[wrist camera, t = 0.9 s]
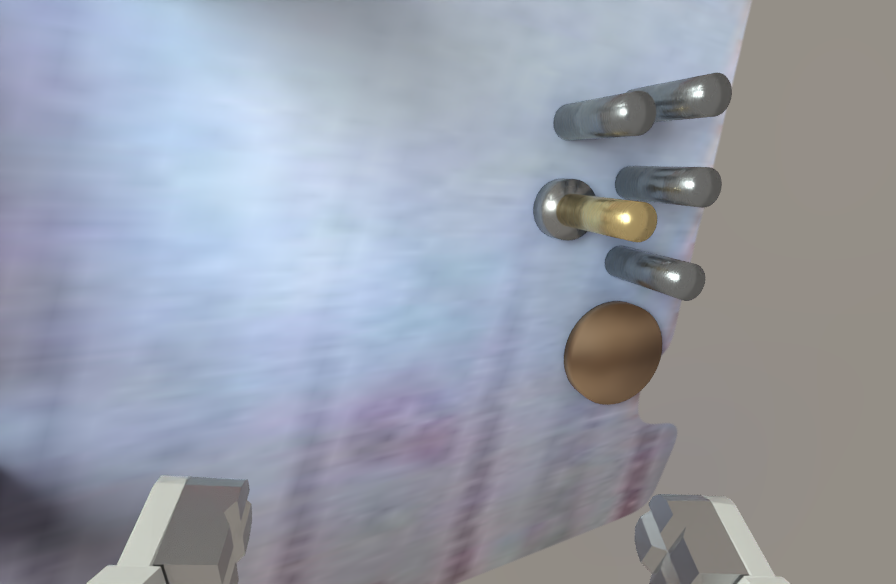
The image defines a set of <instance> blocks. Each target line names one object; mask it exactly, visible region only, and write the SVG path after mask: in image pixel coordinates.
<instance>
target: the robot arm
mask: <svg viewBox="0 0 896 584" xmlns="http://www.w3.org/2000/svg"><path fill="white" fill-rule="evenodd" d="M249 490H250V489H249V483H248V479H228V478H206V477H192V476H164V475H161V477H160V478H159V479H158V480H157V482H156V483H155V484H154V486H153V488H152V490H151V492H150V494H149V496H148V499H147V501H146V503H145V505H144V507H143V509H142V512H141V514H140V516H139V518H138V520H137V522H136V525H135V527H134V529H133V531H132V533H131V535H130V538H129V540H128V542H127V544H126V546H125V548H124V551H123V553H122V555H121V557H120V559H119V561H118V564H117V565H107V566H106V567H105V568H104V569H103V570H101V571H100V572H99V573H98V574H97V575H96V576H94V577H93V578H92V579H91V580H90V581H89V582H87V583H86V584H237V583H238V580H239V579H238V572H237V565H236V563H237V562H238V561H239V560H240V559H241V558H242V557H243V556H244V555H245V553H246V549H247V545H248V541H249V536H250V530H251V524H252V506H251V503H249V502H248V501H247V498H248V494H249ZM649 507H650V509H651V511H649V512H648V513H646V514H644V515H642V516H641V517H640V519H639V520H638V523H637V524H636V527H635V544H636V549H637V553H638V556H639V558H640V562H641V563H642V564H643V565H644V566H645V567H646V568H647V569H648V570H649V571H650V572H651V573H652V576H651V579H650V583H649V584H790V583H789V582H788V581H787V580H785V579H784V578H783V577H781V576H775V575H774V573H773V571H772V569H771V568H770V566H769V564H768V562H767V561H766V559H765V557H764V556H763V553H762V552H761V550H760V548H759V546H758V544H757V543H756V541H755V539H754V537H753V536H752V534H751V532H750V530H749V528H748V527H747V525H746V523H745V521H744V520H743V518H742V516H741V514H740V513H739V511H738V509H737V507H736V505H735V504H734V502H732V501H731V500H730V499H729V498H728V497H723V496H701V495H670V494H666V495H665V494H658V495H656V496H653V497H652V499H651V501H650V502H649Z"/></svg>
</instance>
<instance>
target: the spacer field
mask: <svg viewBox="0 0 896 584" xmlns="http://www.w3.org/2000/svg"><path fill="white" fill-rule="evenodd" d="M731 95H732V89H731V84H730V82H729V80H728V78H727V77H726V76H725V75H723V74H721V73H712V74H707V75H702V76H697V77H692V78H687V79H682V80H677V81H672V82H667V83H662V84H656V85H651V86H646V87H641V88H636V89H631V90H629V91H627V92H626V93H623V94H618V95H613V96H607V97H602V98H597V99H592V100H586V101H581V102H576V103H570V104H566V105H563V106H562V107H560V108H559V109H558V110H557V112H556V114H555V116H554V122H553V124H554V129H555V132H556V133H557V135H558V136H559V137H560V138H562V139H564V140H579V139H595V138H610V137H625V136H639V135H643V134H645V133H646V132H647V131H648V130H650V128H651V127H652V125H653V123H654V122H662V121H672V120H682V119H693V118H703V117H713V116H718V115H720V114H722V113H723V112H724V111H725V110H726V109H727V107H728V105H729V103H730V100H731ZM721 185H722V184H721V177H720V175H719V173H718V172H717V171H716V170H715V169H713V168H709V167H659V166H627V167H624V168H623V169H622V170H621V171H620V172H619V173H618V175H617V177H616V180H615V188H616V191H617V193H618V195H619V196H620V197H622V198H624V199H632V200H640V201H649V202H658V203H667V204H676V205H685V206H694V207H707V206H710V205H711V204H713V203H714V202H715V201H716V200H717V198H718V196H719V194H720V191H721ZM605 268H606V270H607V272H608V273H609V274H610V275H612V276H614V277H617V278H620V279H623V280H626V281H629V282H632V283H635V284H638V285H641V286H643V287H646V288H649V289H652V290H655V291H658V292H661V293H664V294H667V295H669V296H672V297H675V298H678V299H681V300H684V301H689V300H692V299H694V298H696V297H697V296H698V295H699V294H700V293H701V291H702V289H703V287H704V284H705V273H704V271H703V269H702V268H701V267H700V266H699V265H697V264H693V263H689V262H685V261H681V260H677V259H673V258H669V257H665V256H661V255H657V254H653V253H649V252H645V251H641V250H637V249H633V248H629V247H625V246H616V247H614V248H612V249H611V250H610V251H609V253H608V254H607V256H606V259H605Z"/></svg>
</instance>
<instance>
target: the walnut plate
mask: <svg viewBox="0 0 896 584" xmlns="http://www.w3.org/2000/svg"><path fill="white" fill-rule="evenodd" d="M661 352H662V336H661V332H660V329H659V326H658V324H657V322H656V320H655V319H654V318H653V316H652V315H651V314H650V313H648V312H647V311H646V310H644V309H642V308H640V307H638V306H635V305H633V304H630V303H627V302H622V301H612V302H607V303H603V304H601V305H598V306H596V307H595V308H593V309H591V310H590V311H589V312H587V313H586V314H585V315H584V316H583V317H582V318H581V319H580V320H579V321H578V322H577V323H576V325H575V326H574V328H573V329H572V331H571V333H570V335H569V337H568V340H567V343H566V347H565V352H564V367H565V372H566V375H567V378H568V380H569V382H570V383H571V385H572V386H573V387H574V388H575V389H576V390H577V391H578V392H579V393H581V394H582V395H583V396H585V397H586V398H587V399H589V400H591V401H593V402H595V403H599V404H607V405H609V404H616V403H620V402H623V401H626V400H628V399H630V398H631V397H633V396H634V395H636V394H637V393H638V392H640V391H641V390H642V389H643V388H644V387H645V386H646V385H647V383H648V382H649V381H650V379H651V378H652V376H653V375H654V373H655V371H656V369H657V366H658V364H659V361H660V358H661Z"/></svg>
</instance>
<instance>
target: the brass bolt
mask: <svg viewBox="0 0 896 584" xmlns="http://www.w3.org/2000/svg"><path fill="white" fill-rule="evenodd" d="M533 214H534V219H535V222H536V224H537V226H538V228H539V229H540V230H541V231H542V232H543V233H544V234H546V235H548V236H551V237H554V238H558V239H561V240H574V239H577V238H579V237H581V236H583V235H584V234H585V233H586V232H587V231H589V232H594V233H598V234H602V235H607V236H611V237H615V238H620V239H624V240H628V241H633V242H642V241H645V240H647V239H648V238H649V237H650V236H651V235H652V234H653V232H654V230H655V228H656V225H657V214H656V211H655V209H654V208H653V206H652V205H650V204H649V203H646V202H639V201H630V200H621V199H613V198H604V197H596V196H595V195H594V193H593V191H592V189H591V188H590V187H589V186H588V185H587V184H586V183H584V182H582V181H580V180H575V179H555V180H552V181H550V182H548V183H547V184H546V185H544V186H543V187H542V188H541V190H540V191H539V193H538V194H537V196H536V199H535V202H534V207H533Z"/></svg>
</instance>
